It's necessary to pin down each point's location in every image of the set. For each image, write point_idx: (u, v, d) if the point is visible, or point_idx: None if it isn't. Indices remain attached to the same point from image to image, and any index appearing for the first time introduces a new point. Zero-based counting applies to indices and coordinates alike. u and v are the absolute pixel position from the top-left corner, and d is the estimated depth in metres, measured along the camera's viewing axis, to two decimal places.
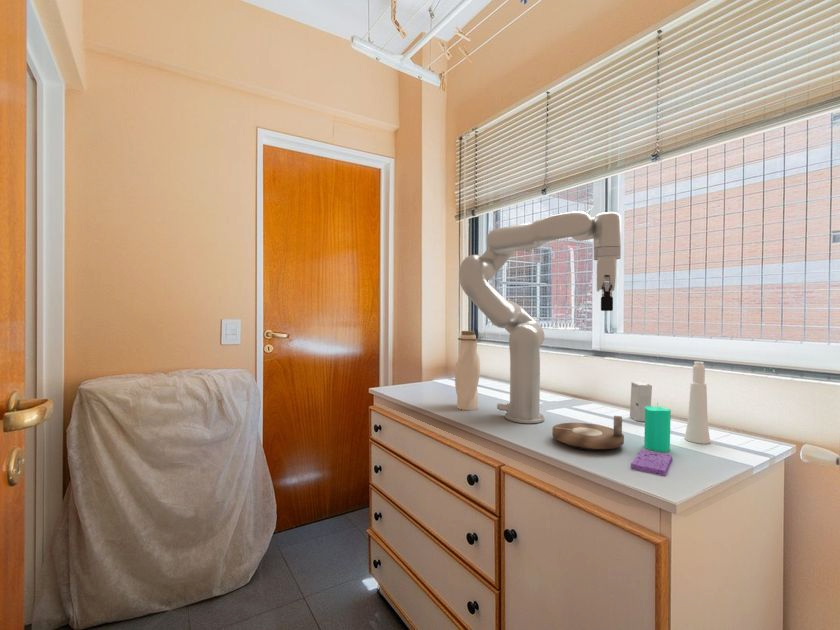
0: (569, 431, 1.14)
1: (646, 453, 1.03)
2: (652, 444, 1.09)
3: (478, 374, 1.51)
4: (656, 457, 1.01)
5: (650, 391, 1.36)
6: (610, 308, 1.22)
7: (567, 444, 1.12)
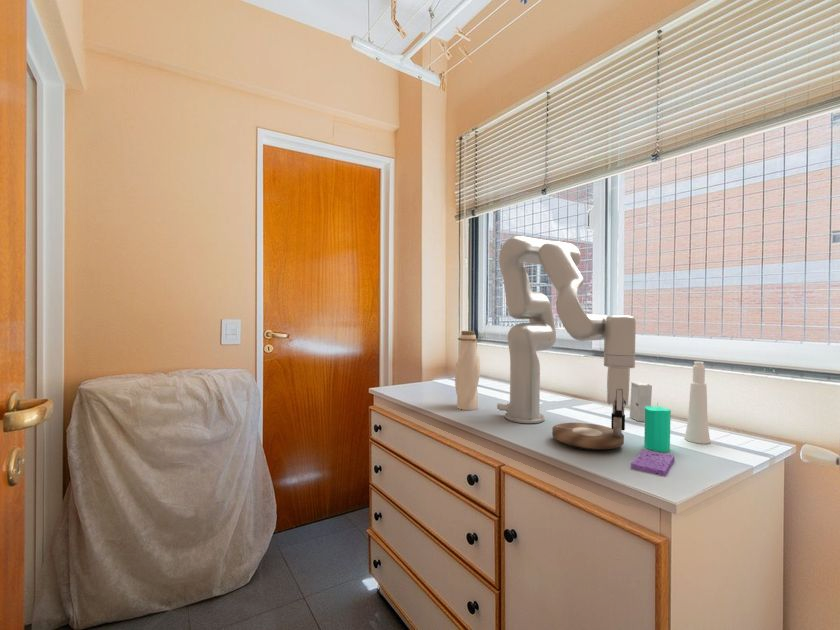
0: (569, 430, 1.15)
1: (648, 453, 1.03)
2: (652, 444, 1.09)
3: (478, 374, 1.51)
4: (657, 457, 1.00)
5: (650, 391, 1.36)
6: (622, 427, 1.12)
7: (567, 444, 1.12)
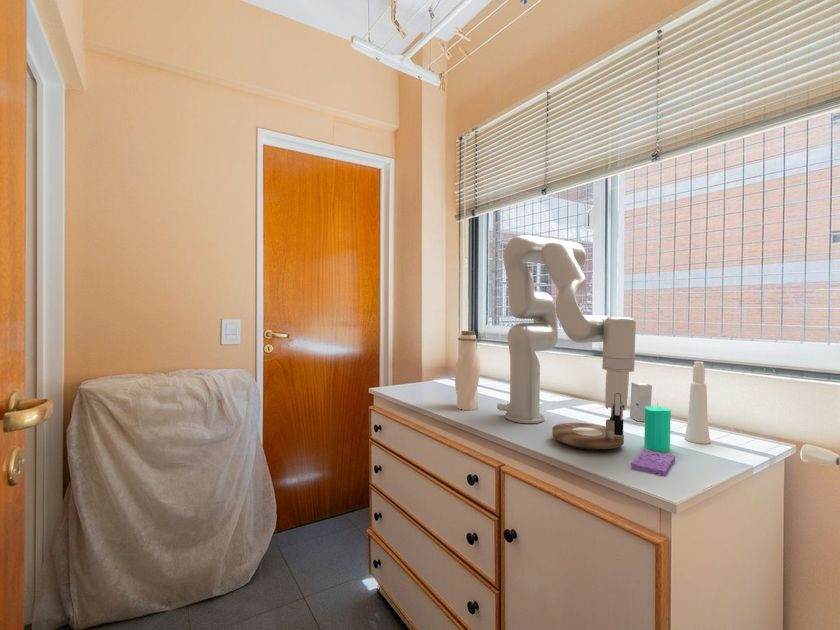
0: (571, 428, 1.17)
1: (648, 453, 1.03)
2: (652, 444, 1.09)
3: (478, 374, 1.51)
4: (658, 457, 1.00)
5: (650, 391, 1.36)
6: (620, 432, 1.08)
7: (567, 444, 1.12)
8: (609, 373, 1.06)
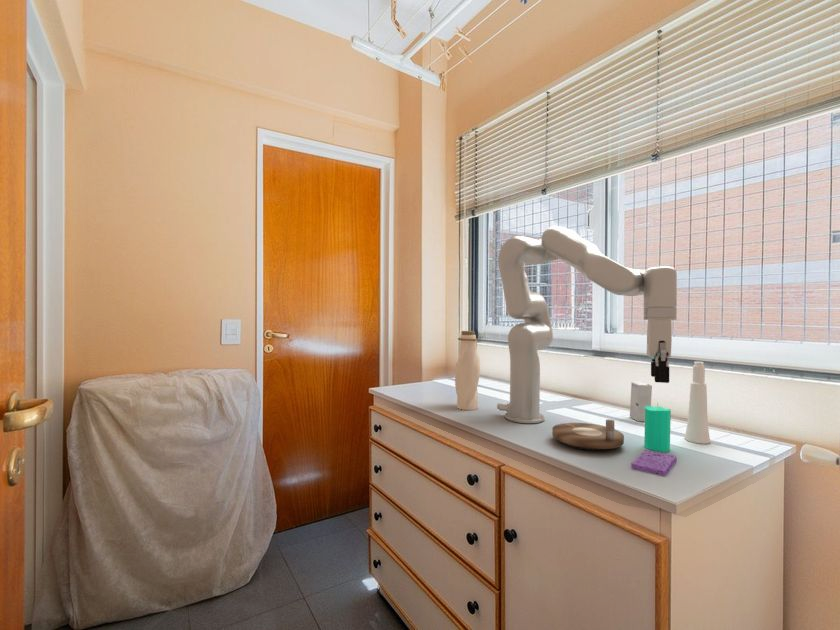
0: (571, 428, 1.17)
1: (649, 453, 1.03)
2: (652, 444, 1.09)
3: (478, 374, 1.51)
4: (659, 457, 1.00)
5: (650, 391, 1.36)
6: (666, 380, 1.05)
7: (567, 444, 1.12)
8: (652, 322, 1.07)
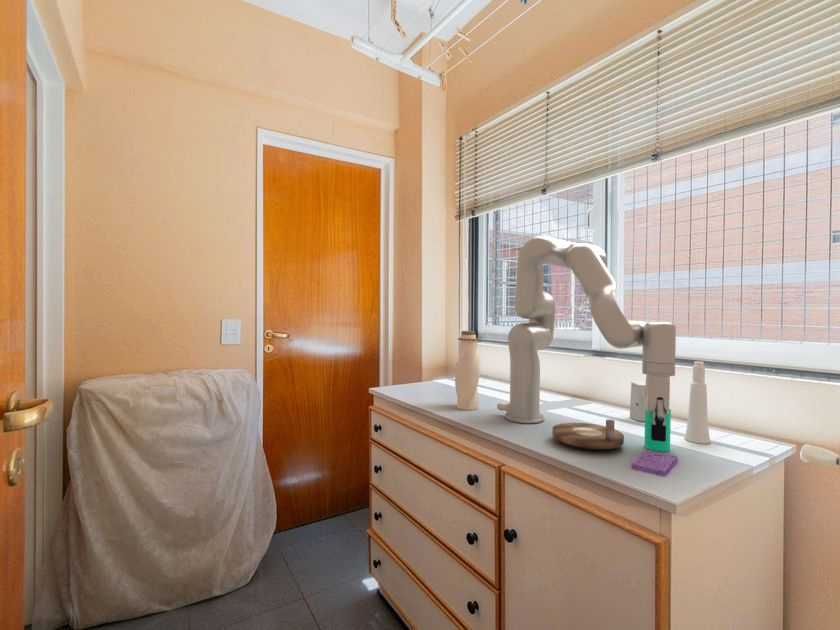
0: (571, 428, 1.17)
1: (651, 454, 1.02)
2: (652, 444, 1.09)
3: (478, 374, 1.51)
4: (660, 457, 1.00)
5: None
6: (662, 438, 1.07)
7: (567, 444, 1.12)
8: (650, 377, 1.07)
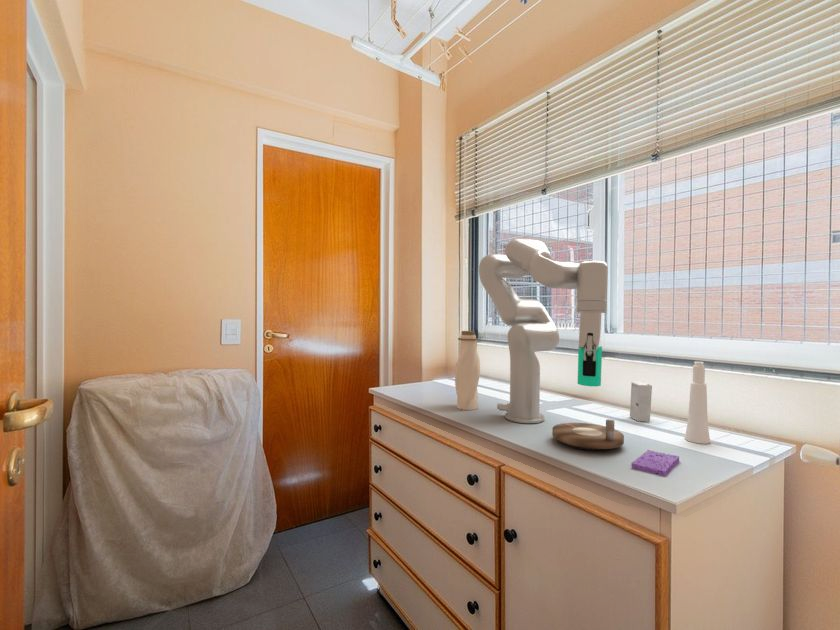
0: (571, 428, 1.17)
1: (652, 454, 1.02)
2: (584, 379, 1.12)
3: (478, 374, 1.51)
4: (661, 458, 1.00)
5: (650, 391, 1.36)
6: (593, 373, 1.11)
7: (567, 444, 1.12)
8: (582, 314, 1.10)
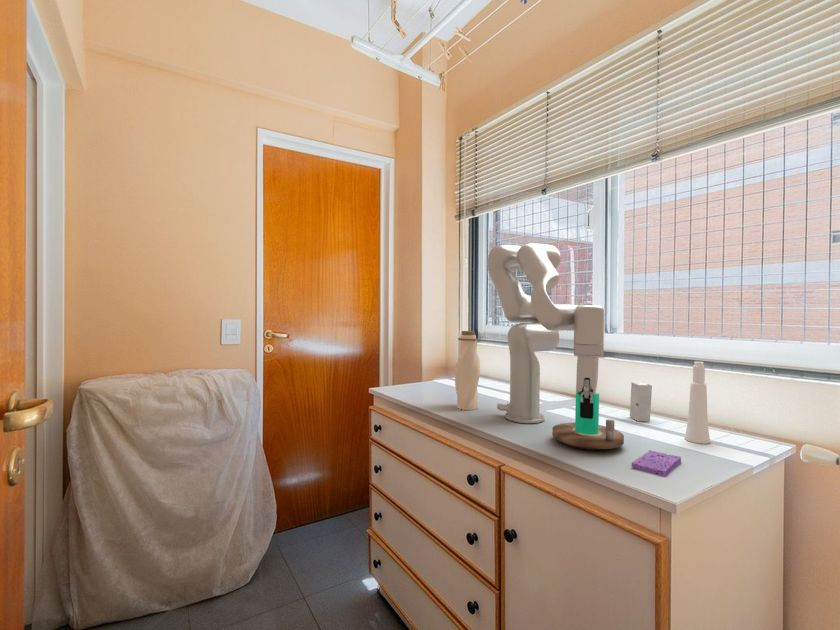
0: (571, 428, 1.17)
1: (653, 454, 1.02)
2: (581, 427, 1.12)
3: (478, 374, 1.51)
4: (662, 458, 1.00)
5: (650, 391, 1.36)
6: (590, 416, 1.09)
7: (567, 444, 1.12)
8: (579, 359, 1.11)
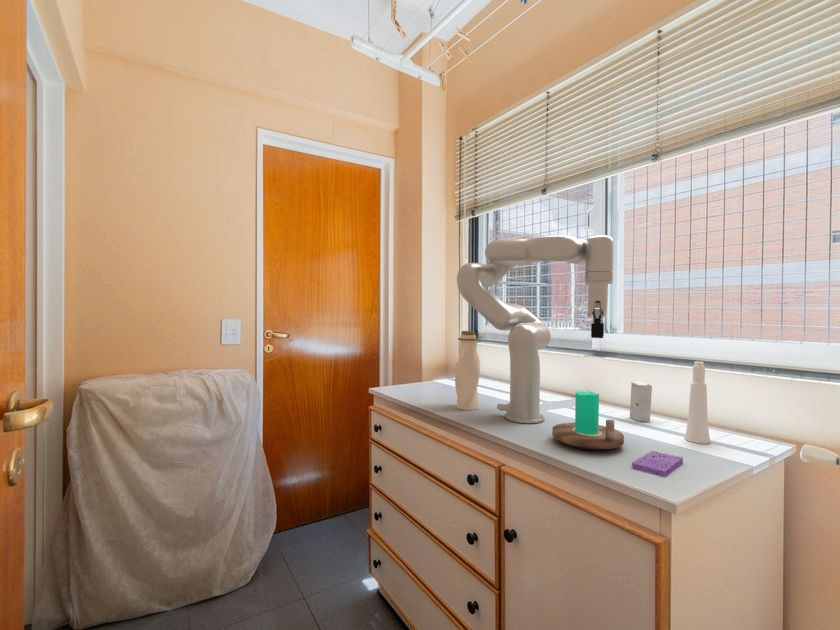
0: (571, 428, 1.17)
1: (655, 454, 1.02)
2: (581, 427, 1.12)
3: (478, 374, 1.51)
4: (663, 458, 0.99)
5: (650, 391, 1.36)
6: (601, 335, 1.18)
7: (567, 444, 1.12)
8: (590, 284, 1.20)
